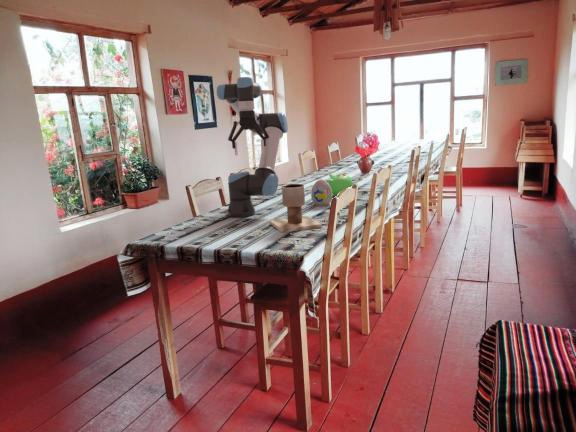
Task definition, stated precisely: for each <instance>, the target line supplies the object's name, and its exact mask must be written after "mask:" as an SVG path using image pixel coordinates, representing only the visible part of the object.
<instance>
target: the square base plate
mask: <svg viewBox="0 0 576 432" xmlns="http://www.w3.org/2000/svg"><path fill="white" fill-rule="evenodd" d="M286 209H287V210H286V211H287V212H286V214H287V216H286V217H287V218H278V219H271V220H269V224H270V225H271V226H272V227H274V228H275V229H277V230H278V231H279V232H281V233H289V232H296V231H297V232H298V231H303V230H304V231H305V230H309V229H319V228H322V227H323V225H322V223H321V222H318V221H317V220H315V219H313V218H312V217H310V216H308V215H304V216H303V214H302V213H303V211H302V209H303V208H302V206H300V207H286Z"/></svg>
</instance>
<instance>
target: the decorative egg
mask: <svg viewBox="0 0 576 432" xmlns="http://www.w3.org/2000/svg"><path fill="white" fill-rule="evenodd" d="M325 180H326V179H318V180H316V181H315V183H314V184H313V186H312V188H311V193H310V196H311V200H312V203H313V204H314V205H315V206H319V207H324V206H329V205H330V204H331V202H332V198H333V194H332V190H331V187H330V185H329V183H327V182H326V181H325Z"/></svg>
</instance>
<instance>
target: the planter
mask: <svg viewBox="0 0 576 432" xmlns="http://www.w3.org/2000/svg"><path fill="white" fill-rule="evenodd" d="M281 194H282V196H281V197H282V206H283V207H286V208H287V207H300V206H301V207H303V206H305V204H306V198H305V185H304V184H302V183H291V184H284V185H282V186H281Z"/></svg>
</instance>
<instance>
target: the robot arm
mask: <svg viewBox="0 0 576 432" xmlns="http://www.w3.org/2000/svg"><path fill="white" fill-rule="evenodd" d="M261 95H262V86H261V85H260V84H259V83H257V82H254V81H253V78H252V77H251V76H244V77H243V76H242V77H237V79H236V83H224V84H219V85H217V87H216V96H217V98H218V99H219V100H220V101H226V102H227V103H228V104H229V106H230V107H231V109H233V111H234V112H235V113H236V114H237V116H238V117H239V120H238V121H236V120H233V122H232V123H233V124H232V128H231V130H230V133H229V135H228V138H227V140H228V141H229V142H231V146H232V147H231V148H232V149H234V155H235V156H238V142H237V139H238V138H239V136H240V135H241V134H242V132H243V131H244V130H245V131H247V130H249V131H251V132H253V133H256V134H257V135H258V136H259V137H260V138H261V139H260V149H261V150H260V151H261V153H260V159H259V163H258V167H257V168H256V169H255V170H254V174H253V173H251V174H250V171H241V172H235V173H232V174H229V175H228V177H227V179H228V180H227V182H228V183H227V185H228V195H229V197H228V198H229V204H228V209H227V216H228V217H231V218H245V217H251V216H254V215H256V209H255V207H254V203H253V201H252V198H251V196H252V197H255V196H256V197H257V196H258V197H269V196H274V195H275V194H276V193H277V191H278V187H279V177H278V175H277V173H276V172H275V165H276V163H277V162H276V161H277V155H278V151H279V150H278V149H279V144H280V140H281V139H282V138H283V136H284V134H286V133H287V132H288V120H287V117H286V114H285V113H283V112H275V113H274V112H272V113H271V112H270V113H268V112H267V113H256V111H255V101H254V100H255V99H256V98H259V97H260V96H261ZM237 126H238V127H239V126H240V127H239V128H238V130H237ZM236 130H237V132H236ZM235 132H236V133H235Z"/></svg>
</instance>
